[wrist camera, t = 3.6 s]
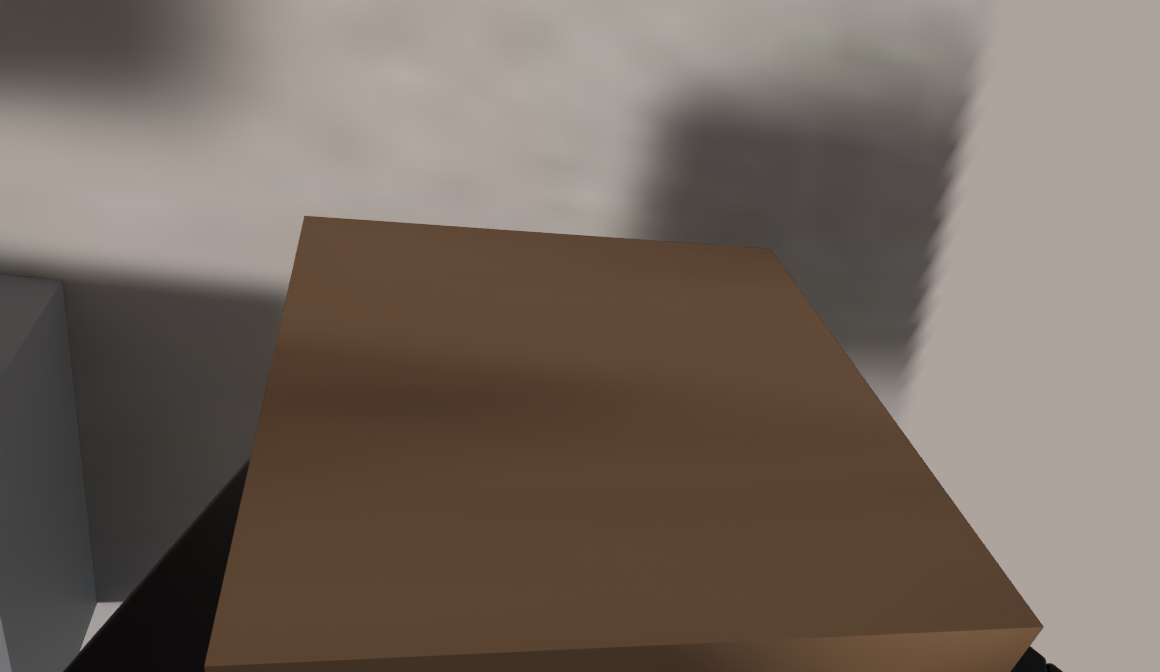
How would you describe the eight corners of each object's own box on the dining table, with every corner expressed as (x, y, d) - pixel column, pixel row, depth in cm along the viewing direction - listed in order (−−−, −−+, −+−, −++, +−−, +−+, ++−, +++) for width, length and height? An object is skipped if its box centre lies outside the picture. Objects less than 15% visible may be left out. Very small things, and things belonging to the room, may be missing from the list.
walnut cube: (670, 550, 12) (802, 950, 8) (311, 557, 11) (254, 1029, 7) (770, 248, 9) (1043, 627, 5) (304, 215, 8) (203, 668, 4)
